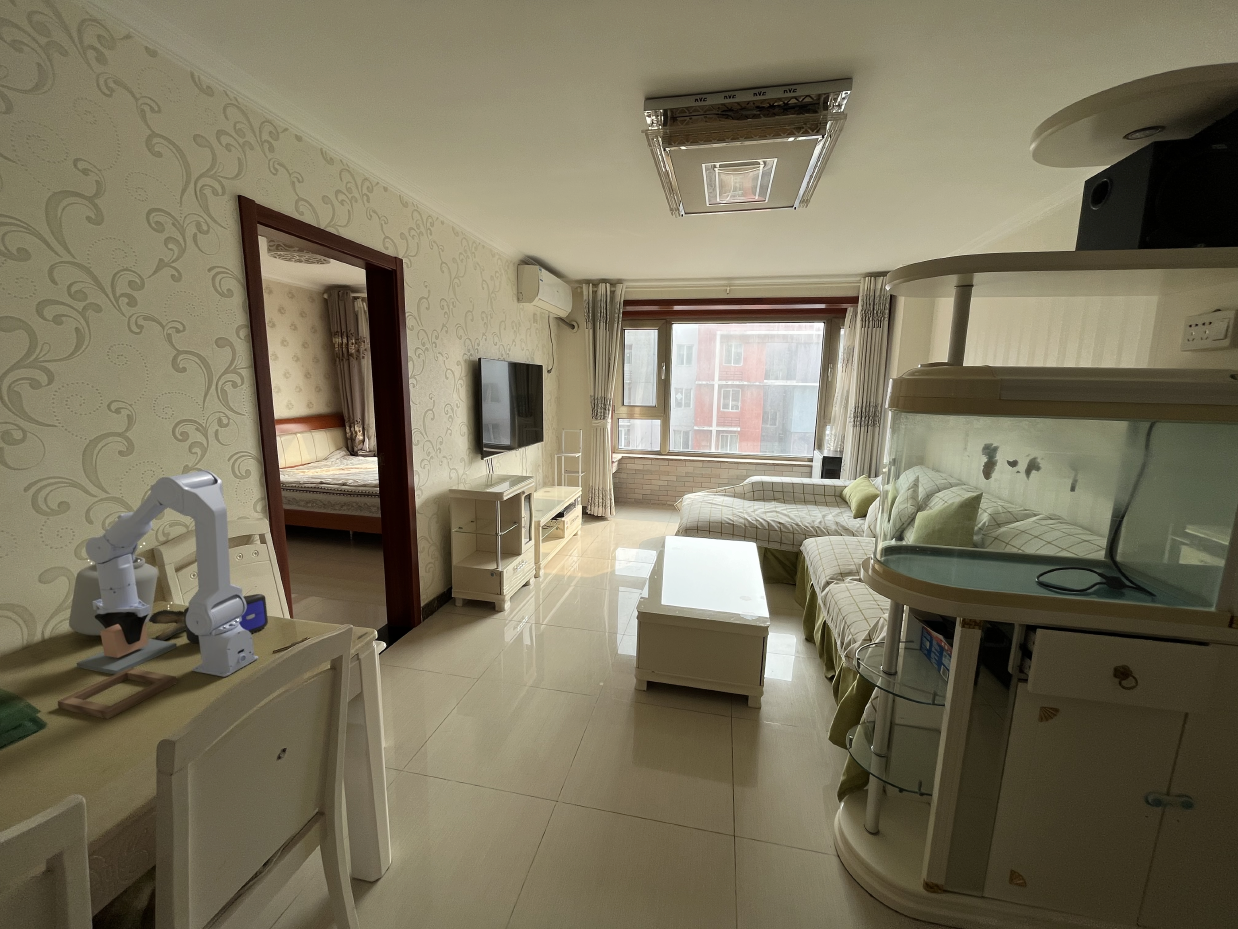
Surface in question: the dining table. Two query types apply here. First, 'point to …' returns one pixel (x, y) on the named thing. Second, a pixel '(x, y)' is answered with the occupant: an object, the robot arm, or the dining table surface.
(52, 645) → the dining table surface
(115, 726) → the dining table surface
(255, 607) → the dark rounded block
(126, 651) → the terracotta block
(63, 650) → the dining table surface
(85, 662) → the mat
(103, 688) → the brown wooden frame
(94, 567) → the jar
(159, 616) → the eagle figurine
